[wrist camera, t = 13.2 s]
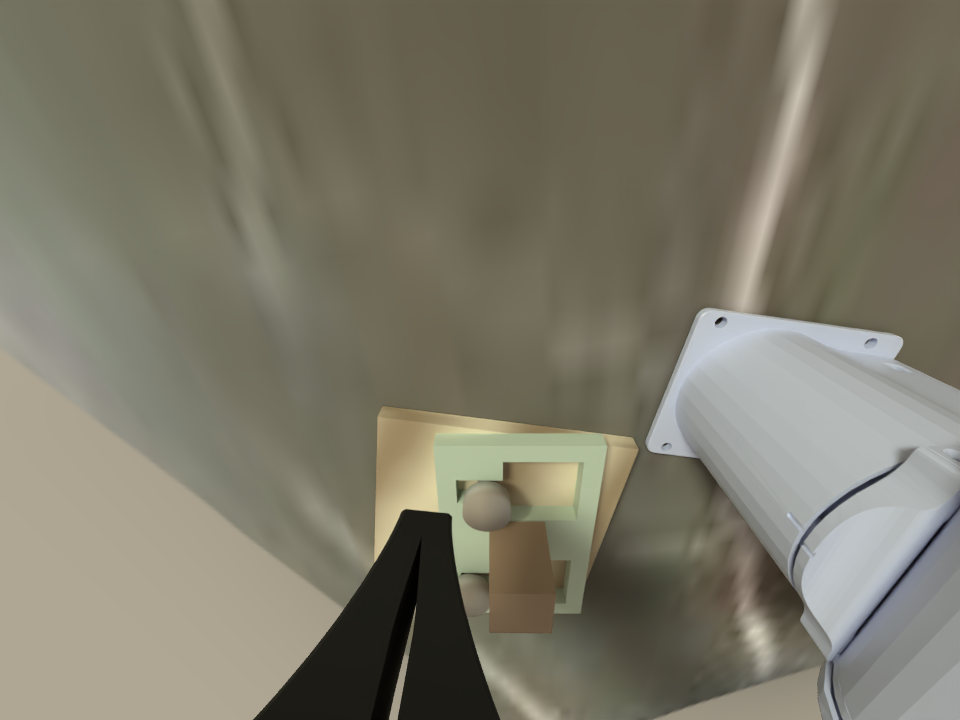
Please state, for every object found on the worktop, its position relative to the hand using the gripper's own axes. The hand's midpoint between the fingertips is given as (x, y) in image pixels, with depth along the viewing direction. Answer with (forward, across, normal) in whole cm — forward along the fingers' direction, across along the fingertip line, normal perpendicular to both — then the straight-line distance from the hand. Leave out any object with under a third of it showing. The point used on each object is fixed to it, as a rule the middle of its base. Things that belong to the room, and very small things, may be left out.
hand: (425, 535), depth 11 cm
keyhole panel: (+8, -4, +9) cm, 13 cm away
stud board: (+9, -3, +9) cm, 13 cm away
